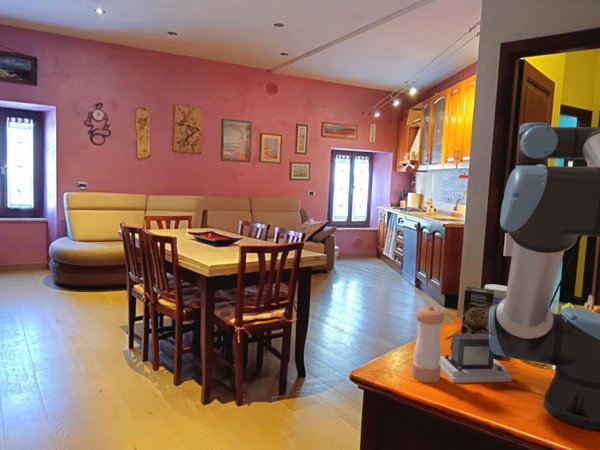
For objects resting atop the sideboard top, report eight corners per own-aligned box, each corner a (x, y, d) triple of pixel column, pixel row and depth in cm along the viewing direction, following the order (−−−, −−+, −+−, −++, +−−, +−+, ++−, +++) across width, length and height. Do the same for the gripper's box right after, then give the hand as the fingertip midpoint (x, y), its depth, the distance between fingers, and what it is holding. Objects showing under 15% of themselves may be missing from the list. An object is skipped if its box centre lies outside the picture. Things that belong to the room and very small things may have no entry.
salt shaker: (410, 369, 124) (415, 301, 122) (438, 372, 123) (443, 303, 120) (412, 381, 117) (417, 308, 115) (441, 384, 115) (447, 311, 113)
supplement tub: (488, 331, 157) (491, 290, 155) (475, 322, 166) (478, 283, 165) (514, 332, 158) (518, 290, 156) (500, 323, 167) (504, 284, 166)
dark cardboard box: (460, 337, 151) (464, 289, 149) (461, 331, 157) (465, 285, 155) (489, 342, 147) (494, 293, 145) (489, 335, 153) (494, 289, 151)
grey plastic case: (492, 371, 122) (495, 339, 121) (457, 371, 121) (459, 339, 120) (485, 365, 126) (487, 333, 125) (450, 365, 125) (453, 333, 124)
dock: (511, 381, 119) (512, 370, 118) (453, 382, 117) (454, 370, 116) (487, 362, 130) (488, 351, 130) (434, 363, 129) (435, 352, 128)
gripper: (576, 184, 109) (566, 270, 112) (516, 181, 134) (509, 252, 136) (547, 183, 108) (538, 270, 111) (492, 180, 133) (485, 252, 135)
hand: (522, 260), depth 124 cm, fingers open, 13 cm apart
